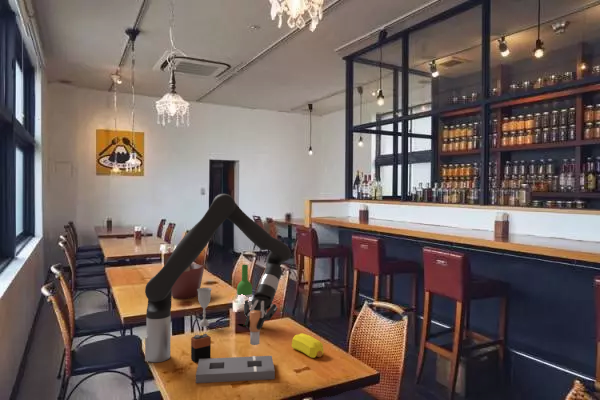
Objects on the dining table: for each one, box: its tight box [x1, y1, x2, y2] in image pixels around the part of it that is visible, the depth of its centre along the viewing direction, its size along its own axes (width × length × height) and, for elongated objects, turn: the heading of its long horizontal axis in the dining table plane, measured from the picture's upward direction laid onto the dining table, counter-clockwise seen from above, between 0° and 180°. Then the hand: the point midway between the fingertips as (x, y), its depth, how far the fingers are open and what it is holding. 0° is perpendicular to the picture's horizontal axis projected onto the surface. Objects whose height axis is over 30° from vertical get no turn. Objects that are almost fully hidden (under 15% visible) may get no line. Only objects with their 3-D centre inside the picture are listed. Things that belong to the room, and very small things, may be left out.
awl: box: [249, 310, 261, 346], centre depth 160 cm, size 4×4×12 cm
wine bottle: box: [236, 264, 253, 298], centre depth 216 cm, size 8×8×30 cm
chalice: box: [197, 287, 213, 328], centre depth 213 cm, size 7×7×18 cm
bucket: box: [172, 263, 205, 300], centre depth 269 cm, size 24×22×25 cm
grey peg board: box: [195, 355, 276, 384], centre depth 159 cm, size 28×14×3 cm, turn 98°
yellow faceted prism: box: [291, 332, 324, 359], centre depth 180 cm, size 18×7×8 cm
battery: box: [190, 333, 212, 363], centre depth 171 cm, size 4×7×10 cm, turn 126°
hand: (252, 327), depth 158 cm, fingers closed on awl, 4 cm apart
